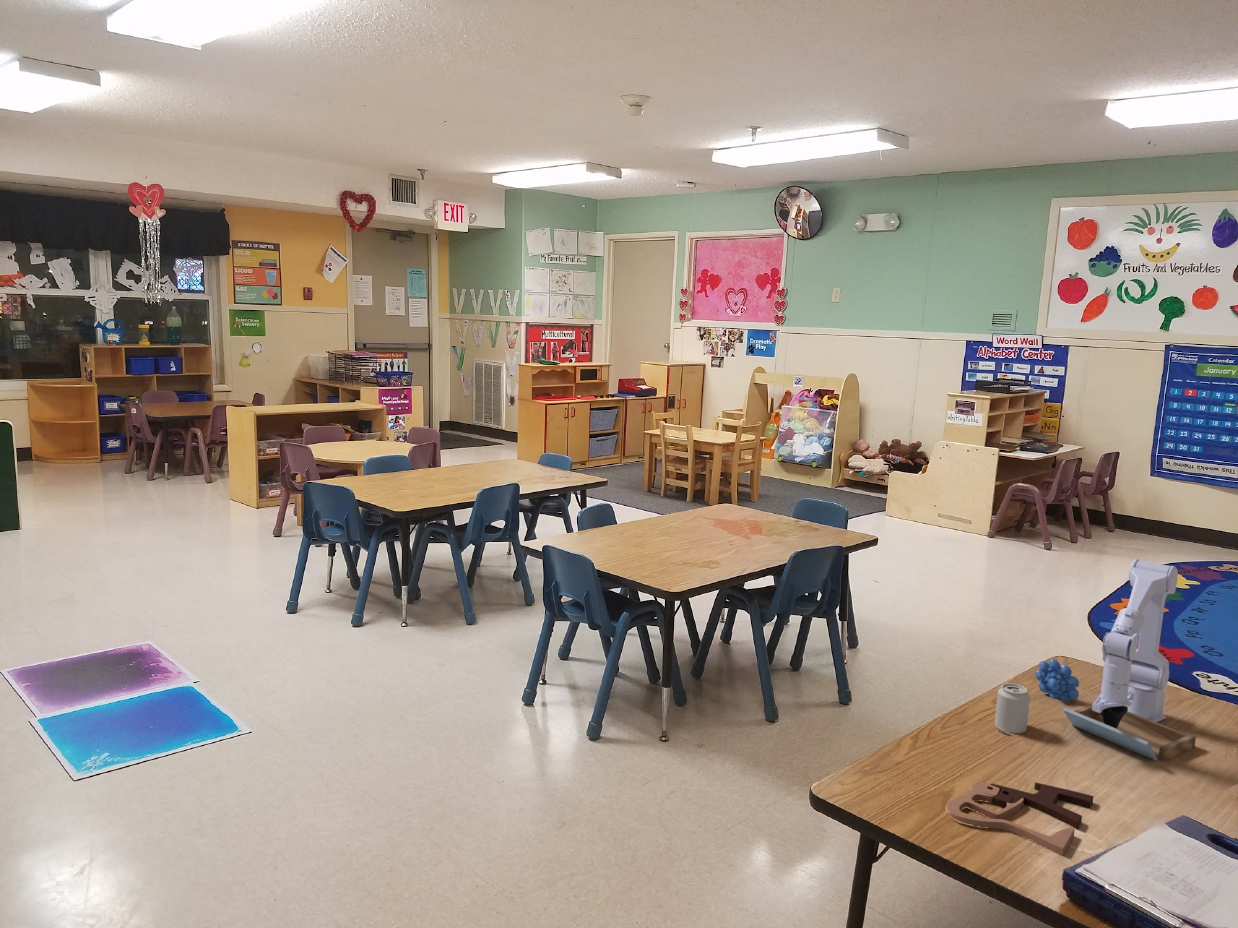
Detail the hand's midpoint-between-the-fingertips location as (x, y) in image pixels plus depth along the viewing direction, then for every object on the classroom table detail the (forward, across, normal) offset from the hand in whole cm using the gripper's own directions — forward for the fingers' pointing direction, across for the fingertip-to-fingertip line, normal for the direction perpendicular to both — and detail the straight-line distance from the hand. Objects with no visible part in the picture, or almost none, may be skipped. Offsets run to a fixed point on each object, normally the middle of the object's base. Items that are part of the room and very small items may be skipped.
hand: (1109, 732), depth 221 cm
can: (+4, -13, +18) cm, 23 cm away
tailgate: (+3, +3, 0) cm, 4 cm away
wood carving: (+4, -44, -6) cm, 45 cm away
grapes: (+5, +13, +23) cm, 27 cm away
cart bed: (+5, +10, 0) cm, 11 cm away
